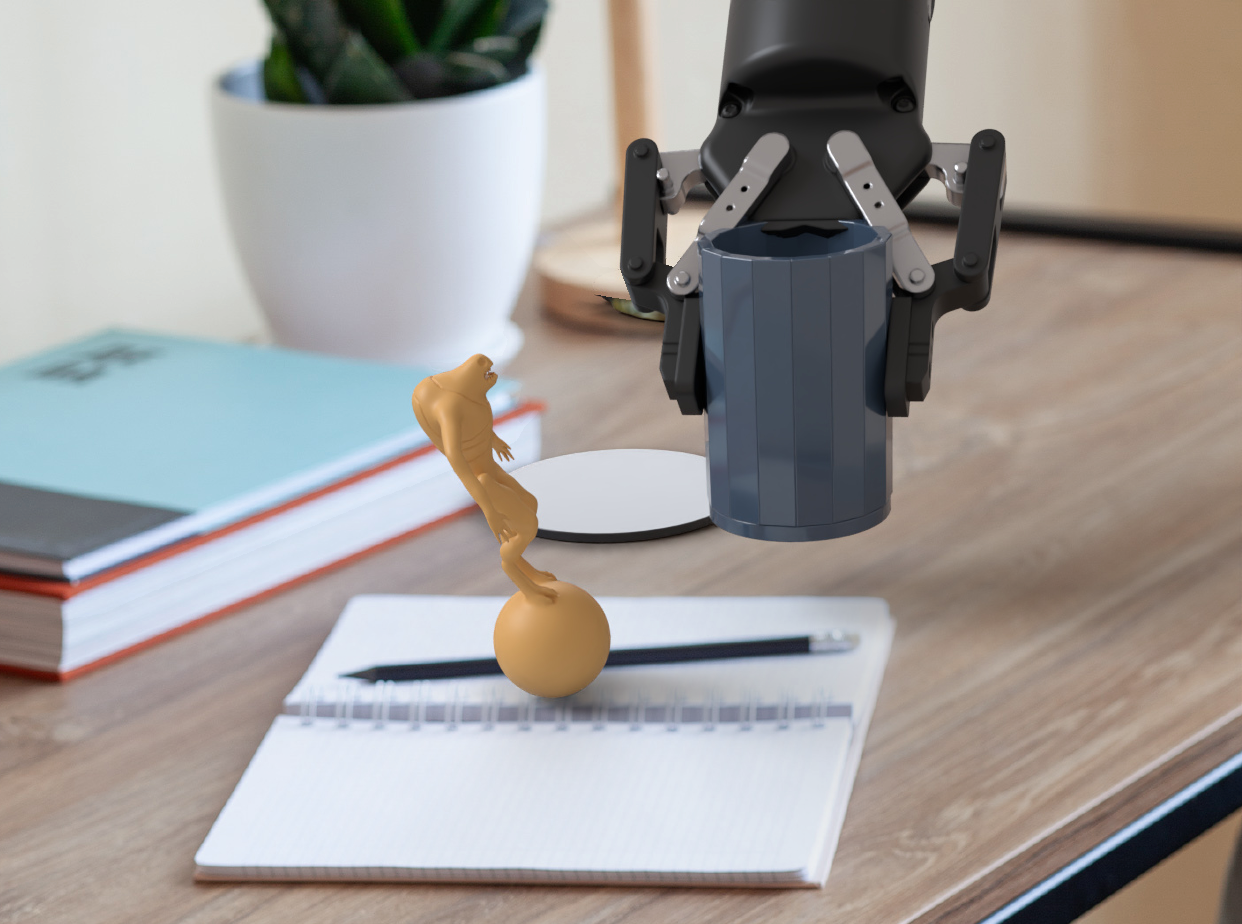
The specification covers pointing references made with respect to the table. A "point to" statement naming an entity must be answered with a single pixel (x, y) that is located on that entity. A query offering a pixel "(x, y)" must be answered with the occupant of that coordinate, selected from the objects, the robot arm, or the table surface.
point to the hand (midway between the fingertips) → (791, 405)
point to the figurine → (513, 542)
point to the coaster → (618, 494)
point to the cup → (796, 380)
